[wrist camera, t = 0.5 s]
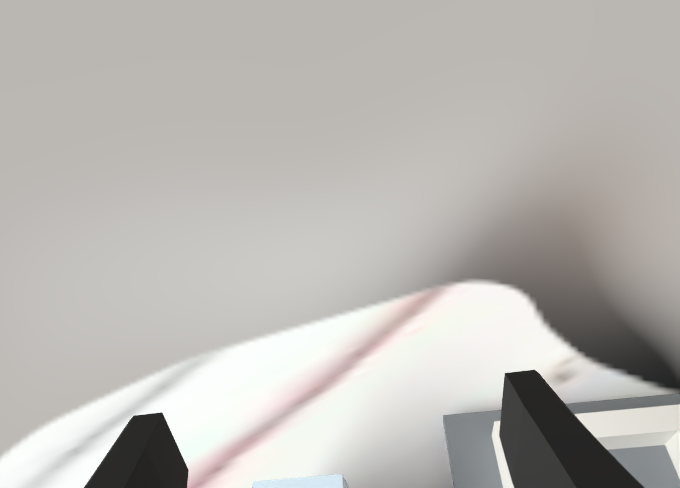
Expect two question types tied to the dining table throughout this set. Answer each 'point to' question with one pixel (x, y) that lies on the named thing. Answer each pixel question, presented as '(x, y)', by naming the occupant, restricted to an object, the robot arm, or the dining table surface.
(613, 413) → the cradle jig
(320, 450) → the dining table surface
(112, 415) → the dining table surface
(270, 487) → the block
